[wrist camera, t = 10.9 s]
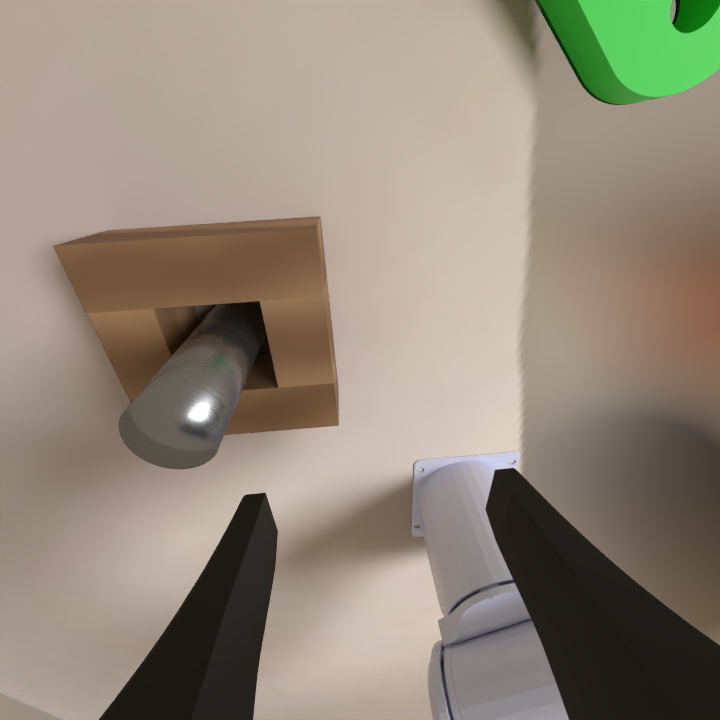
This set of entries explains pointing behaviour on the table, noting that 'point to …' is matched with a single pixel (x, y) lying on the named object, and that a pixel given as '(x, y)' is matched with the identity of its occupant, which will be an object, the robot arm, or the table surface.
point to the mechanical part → (636, 45)
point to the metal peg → (196, 390)
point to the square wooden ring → (216, 286)
